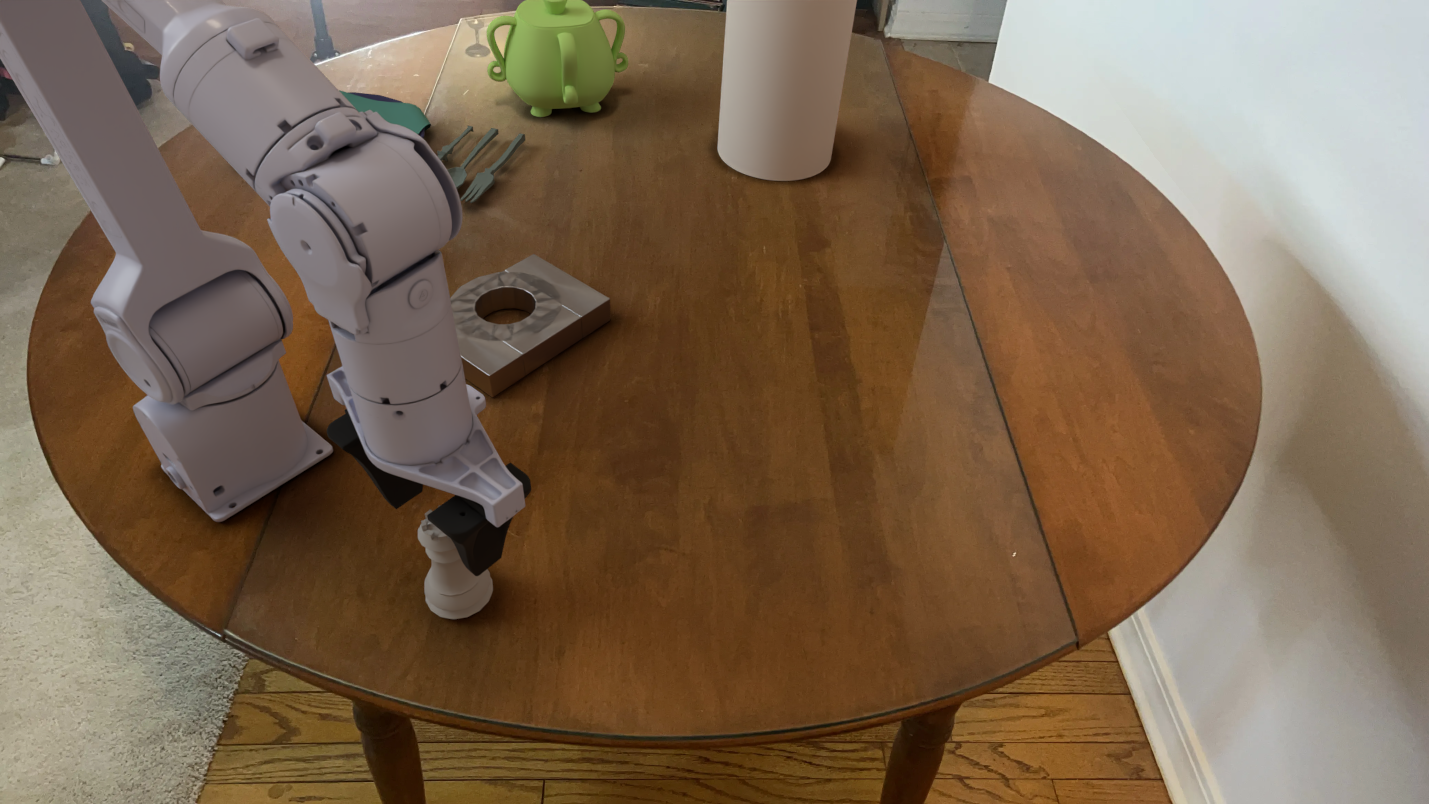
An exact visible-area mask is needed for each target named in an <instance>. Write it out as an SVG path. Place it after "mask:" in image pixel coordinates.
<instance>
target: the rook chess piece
mask: <svg viewBox="0 0 1429 804" xmlns="http://www.w3.org/2000/svg"><path fill="white" fill-rule="evenodd" d="M441 505H442V504H440V505H437V508H438V507H439V506H441ZM432 511H433V510H432V509H431V508H430V509H429V510H428V511H426V512H425V513H424V518H425V519H422V520H421V521H420V522H421V523H420V525H419V526H418V529H417V540H418V541H419V543H420V545H421V546H422V547H424V548H425V554H426V555H427V557H428V558H429V559H430V561H431V567H430V568H429V570H428V572H427V574H426V576H425V578H424V583H423V584H424V587H423V588H424V591H423V592H424V593H423V594H424V595H425V603H426V605H427V606H428V608H429V610H430V611H431V612H432V613H434V614H435V615H437V616H438V617H439V618H443V619H450V620H457V619H458V620H459V619H464V618H468V617H471V616H472V615H474V614H476V613H478V612H480V611H482V610H483V608H485V606H486V605H487V604H488V603H489V601H490V599H491V597H492V595H493V592H494V585H493V584H494V583H493V579H492V577H491V572H490V571H489V568H488V569H487V570H485V571H484V572H483V573H482V574H480V575H479V576H475V575H474V574H472V573H471V572H470V571H469V570H468V569H467V568H466V567H465V565H464V564H463V562H462V560H461V558H460V556H459V553H458V551H457V549H456V546H455V545H454V543H453V541H452V540H451V538H450V537H448V536H447V535H446V534H444V533H443V532H442V531H441V530H440V529H438V528H437V527H436V526H435V525H433V524H432V523H431V522H430V521H429V520H428V518H427V515H428V514H430V513H431V512H432Z"/></svg>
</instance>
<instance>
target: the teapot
mask: <svg viewBox="0 0 1429 804" xmlns="http://www.w3.org/2000/svg"><path fill="white" fill-rule="evenodd" d="M607 19H608V20H613V21H614V22H616V23H615V24H616V31H615V32H616V33H615V36H614V39H613V42H612V45H610V41H609V39H608V36H607V34H606V32H605V29H604V28H603V25H602V24H601V21H603V20H607ZM504 26H509V28H508V31H507V35H506V37H505V38H506V39H505V43H504V50H503V54H502V53H501V50H500V48H499V45H498V44H497V40H496V37H495V32H496V30H497V29H499V28H500V27H504ZM625 34H626V25H625V21H624V19H623V18H622V16H621V15H620V14H618V12H616V11H615V10H612V9H600V10H596V11H594V10H593V8H592V6H590V5H589V4H588V3H587V2H586V1H584V0H523V1H521V3H519V5H518V6H517V8H516V9H515V12H514V15H513V16H512V15H501V16H498V17H495V18H494V19H493V20H492V21H490V22H489V24H488V26H487V28H486V40H487V43H488V44H487V45H488V46H489V49H490V51H491V53H492V54H493V57H494V59H495V60H493V61H490V63H489V64H487V69H486V70H487V71H486V72H487V75H488V77H489V78H490V79H491V80H492V81H494V82H496V83H497V82H498V83H502V82H505V81H506V82H507V84H508V85H509V87H510V88H511V89H512V91H513V92H514V93H515V94H516V95H517V96H518V98H519V99H520V100H522V101H523V102H524V103H525V104H527V105H529V106H531V109H530V114H531V115H532V116H534V117H537V118H544V117H548V116H550V115H552V112H553V110H555V109H556V110H557V109H560V110H561V109H572V108H580V110H581V111H582V112H584V113H597V112H600V111H601V109H602V106H601V105H600V102H602V101H603V100H604V99H605V97H606V96H607V95H608V94H609V93H610V90H611V88H612V87H613V85H614V82H615V78H616V73H622V72H624V71H626V69H628V67H629V58H628V55H627V54H626V53H624V52H620V51H621V49H622V46H623V42H624V39H625ZM619 59H622V61H621V62H620V63H619V62H617V61H618V60H619ZM495 68H499V69H500V72H495V70H494V69H495Z"/></svg>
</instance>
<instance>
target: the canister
mask: <svg viewBox="0 0 1429 804" xmlns="http://www.w3.org/2000/svg"><path fill="white" fill-rule="evenodd" d="M857 2H858V0H726V10H725V11H726V12H725V25H724V26H725V27H724V42H723V56H722V71H721V72H722V73H721V87H720V101H719V103H720V104H719V116H718V118H719V119H718V120H719V121H718V131H717V132H718V133H717V146H716V148H717V153H718V156H719V157H720V159H721V160H722V161H723V162H724V163H725V164H726V165H727V166H728V167H730V168H731V169H733V170H735V171H736V172H738V173H741V174H744V175H746V176H749V177H753V178H757V179H761V180H767V181H775V182H788V181H789V182H792V181H799V180H804V179H808V178H812V177H814V176H816V175H819V174H820V173H822V172H823V171H824V170H825V169H827V168H828V166H829V165H830V163H831V161H832V154H833V150H834V149H833V148H834V143H835V135H836V131H837V125H838V118H839V114H840V113H839V112H840V106H841V101H842V100H841V99H842V93H843V87H844V81H845V77H846V70H847V63H848V57H849V51H850V46H851V39H852V34H853V33H852V32H853V27H854V22H855V16H856V15H855V14H856V7H857V4H858V3H857Z"/></svg>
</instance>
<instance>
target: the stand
mask: <svg viewBox="0 0 1429 804" xmlns="http://www.w3.org/2000/svg"><path fill="white" fill-rule="evenodd" d="M450 301H451V306H452V312H453V317H454V322H455V328H456V333H457V338H458V344H459V349H460V354H461V360H462V365H463V370H464V376H465V380H466V381H468V382H470V383H471V384H473V385H474V386H475V387H477V389H479V390H481V391H482V392H484V393H485V394H486V395H488V396H489V397H490V398H494V397H496V396H498V395H499V394H500V393H502V392H503V391H505V390H507V389H508V388H510V387H511V386H513V385H514V384H516V383H518V382H519V381H520V380H522V379H524V378H525V377H526V376H528V375H529V374H530V373H533V372H534V371H535V370H537V369H538V368H540V367H541V366H543V365H544V364H546V363H548V361H550V360H552V359H554V358H555V357H556V356H558V355H559V354H561V353H562V352H564V351H565V350H567V349H569V348H570V347H571V346H573V345H575V344H576V343H578V342H579V341H581V340H582V339H584V338H585V337H587V336H589V335H590V334H591V333H593V332H595V331H597V330H598V329H600V328H601V327H602V326H604V325H606V324H607V323H608V322H610V321H611V317H612V316H611V297H608V296H606V295H604V294H603V293H601V292H600V291H597V290H596V289H594V288H593V287H591V286H589V285H587V283H584V282H582V281H581V280H580V279H577V278H576V277H574V276H572V275H570V274H569V273H567V272H566V271H564V270H563V269H561V268H559V267H557V266H555V265H554V264H552V263H550V262H548V261H547V260H546V259H543V258H541V256H538V255H537V254H535V253H533V254H531V255H529V256H527V257H525V258H524V259H522V260H520V261H518V262H516V263H514V264H512V265H511V266H509V267H508V268H505V269H504V270H502V271H497V272H493V273H489V274H484V275H481V276H478V277H475V278H473V279H472V280H469V281H468V282H466V283H464V284H462V285H461V286H459V287H458V288H457V289H456V290H455V292H454V293H453V294H452V295H451V296H450ZM504 309H506V310H507V309H511V310H512V309H516V310H520V311H525V312H527V313H529V314H530V315H528V316H526V317H525V318H523V319H522V320H519V321H516V322H512V323H500V324H499V323H495V322H491V321H486V320H485V319H484V318H485V317H487V316H488V315H490V314H492V313H493V312H497V311H501V310H504Z"/></svg>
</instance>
